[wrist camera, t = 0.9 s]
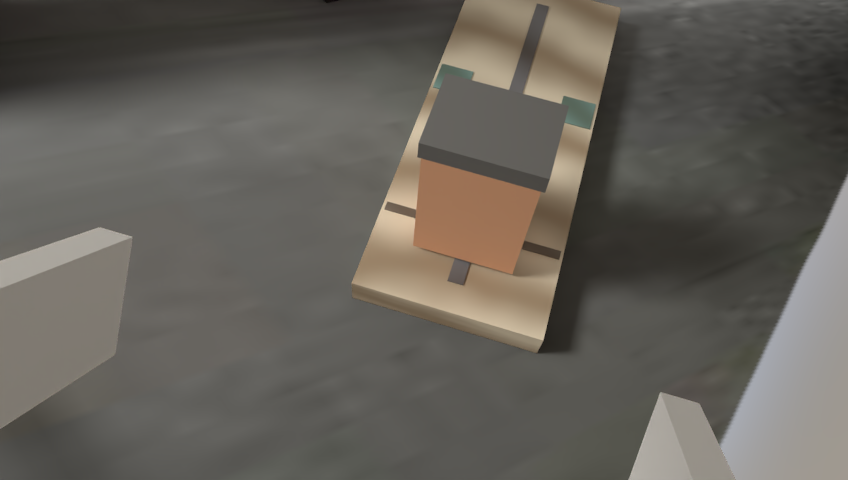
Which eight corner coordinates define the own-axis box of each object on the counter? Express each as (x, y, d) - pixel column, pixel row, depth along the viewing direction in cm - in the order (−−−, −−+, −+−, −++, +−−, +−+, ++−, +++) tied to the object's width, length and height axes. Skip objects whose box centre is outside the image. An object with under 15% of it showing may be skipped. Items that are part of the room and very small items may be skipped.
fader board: (537, 353, 45) (543, 340, 43) (352, 297, 46) (351, 282, 44) (614, 26, 60) (621, 6, 58) (473, -9, 61) (476, -30, 59)
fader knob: (515, 275, 45) (549, 179, 36) (409, 244, 45) (418, 142, 37) (532, 210, 47) (568, 105, 38) (432, 182, 48) (445, 73, 39)
